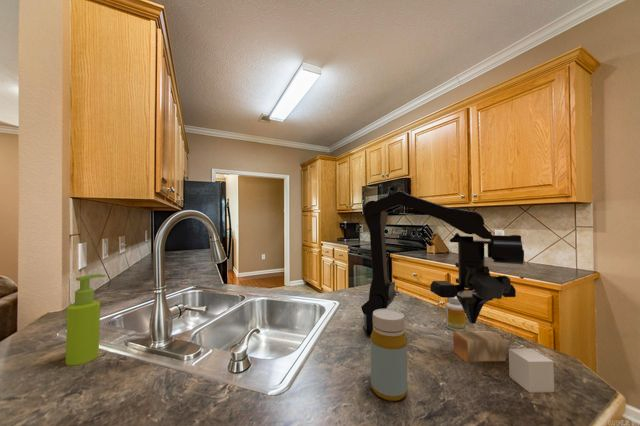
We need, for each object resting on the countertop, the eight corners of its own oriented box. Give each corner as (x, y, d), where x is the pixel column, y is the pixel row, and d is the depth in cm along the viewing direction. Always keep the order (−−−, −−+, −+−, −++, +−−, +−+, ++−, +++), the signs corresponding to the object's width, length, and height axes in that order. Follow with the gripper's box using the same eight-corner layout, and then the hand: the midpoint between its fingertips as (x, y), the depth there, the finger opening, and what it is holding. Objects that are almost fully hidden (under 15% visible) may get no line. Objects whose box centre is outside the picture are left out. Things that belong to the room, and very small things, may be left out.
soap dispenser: (108, 353, 63) (110, 274, 64) (72, 368, 57) (75, 279, 58) (96, 348, 66) (98, 272, 66) (60, 362, 59) (63, 277, 60)
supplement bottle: (469, 331, 76) (468, 299, 76) (451, 331, 76) (450, 299, 76) (459, 324, 81) (459, 294, 82) (443, 324, 81) (442, 294, 82)
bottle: (407, 383, 52) (406, 310, 52) (407, 406, 45) (406, 323, 46) (373, 376, 54) (372, 306, 55) (368, 397, 48) (368, 318, 48)
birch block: (465, 340, 60) (505, 339, 60) (453, 331, 65) (490, 330, 65) (465, 361, 60) (505, 360, 60) (453, 350, 65) (490, 350, 65)
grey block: (529, 392, 49) (528, 361, 49) (509, 376, 54) (508, 348, 54) (554, 392, 49) (553, 361, 49) (531, 376, 54) (531, 348, 54)
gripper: (453, 266, 55) (454, 338, 54) (535, 266, 55) (537, 337, 55) (429, 259, 66) (429, 318, 65) (497, 258, 67) (499, 318, 66)
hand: (472, 323), depth 63 cm, fingers closed
